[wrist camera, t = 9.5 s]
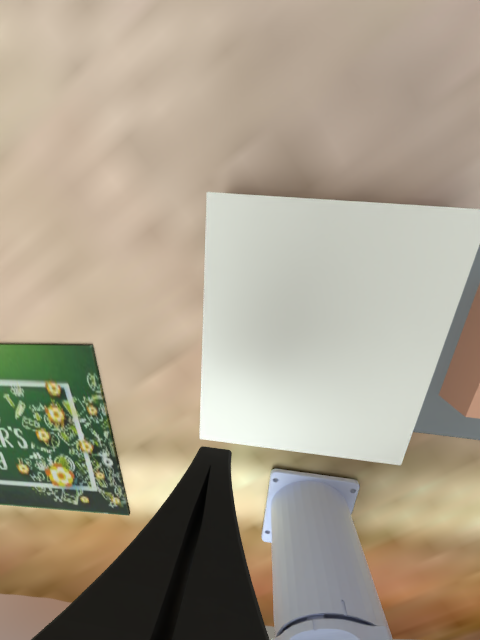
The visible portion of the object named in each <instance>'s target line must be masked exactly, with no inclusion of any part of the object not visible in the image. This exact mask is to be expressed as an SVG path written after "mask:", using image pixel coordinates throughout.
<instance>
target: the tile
mask: <svg viewBox="0 0 480 640" xmlns="http://www.w3.org/2000/svg"><path fill="white" fill-rule="evenodd" d="M439 396H440V397H442V398H443V399H444V400H445V401H447V402H448V403H449V404H450V405H451V406H453V407H454V408H455V409H456V410H457V411H459V412H460V413H461V414H462V415H464V416H465V417H470V418H479V419H480V284H479V286H478V289H477V292H476V294H475V297H474V300H473V303H472V305H471V308H470V311H469V314H468V316H467V319H466V322H465V324H464V327H463V330H462V333H461V335H460V338H459V341H458V344H457V346H456V349H455V352H454V354H453V357H452V360H451V363H450V365H449V368H448V371H447V374H446V376H445V379H444V382H443V384H442V387H441V390H440V393H439Z"/></svg>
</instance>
